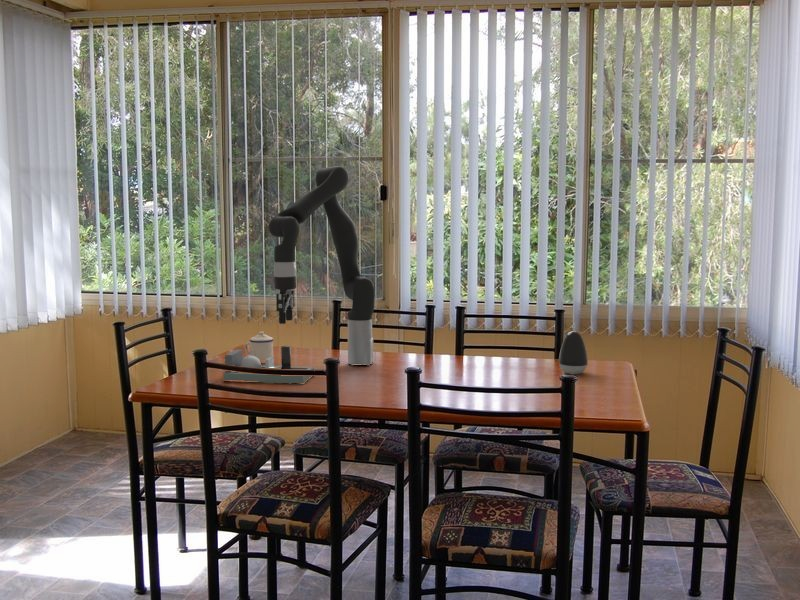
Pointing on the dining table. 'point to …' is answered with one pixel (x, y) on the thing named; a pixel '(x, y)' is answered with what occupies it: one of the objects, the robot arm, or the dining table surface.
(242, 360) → the bath bomb
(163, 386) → the dining table surface
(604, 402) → the dining table surface
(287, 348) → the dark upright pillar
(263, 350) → the teacup with lid
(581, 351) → the grey egg shaped speaker
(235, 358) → the press frame
